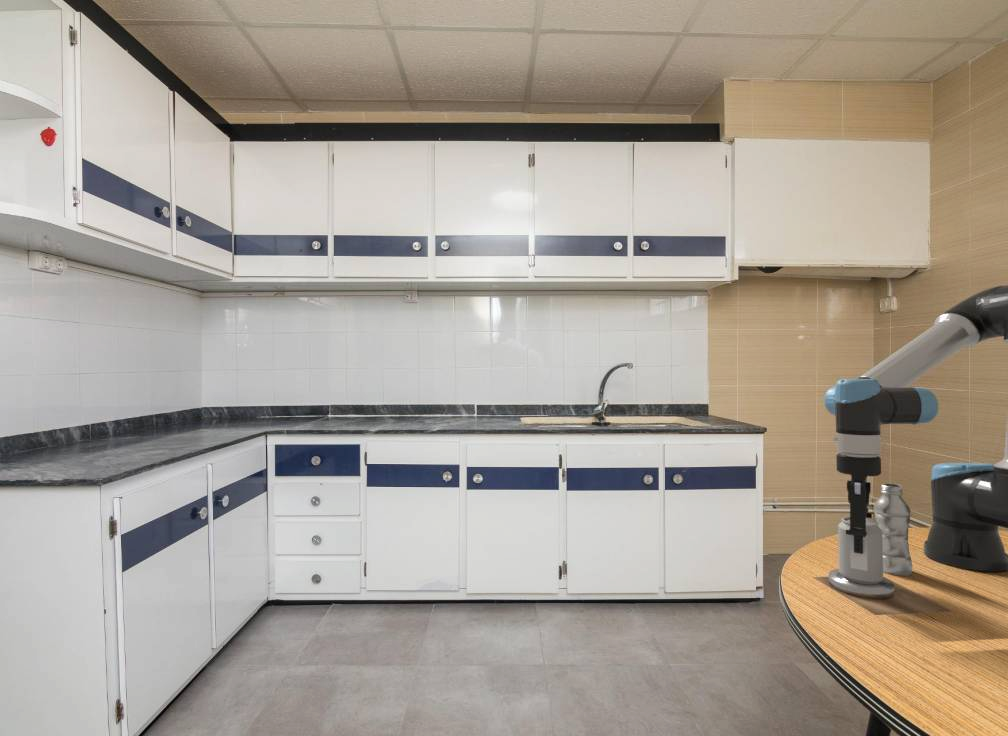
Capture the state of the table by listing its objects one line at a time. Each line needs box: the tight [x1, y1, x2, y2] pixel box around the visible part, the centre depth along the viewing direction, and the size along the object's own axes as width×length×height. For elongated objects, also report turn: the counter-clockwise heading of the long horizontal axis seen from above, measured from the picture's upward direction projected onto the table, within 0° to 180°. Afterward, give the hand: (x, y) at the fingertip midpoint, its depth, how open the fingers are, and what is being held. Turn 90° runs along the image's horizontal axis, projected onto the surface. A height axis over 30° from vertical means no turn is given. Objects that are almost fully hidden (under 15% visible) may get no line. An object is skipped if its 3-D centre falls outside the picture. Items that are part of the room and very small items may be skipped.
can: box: [837, 516, 884, 585], centre depth 105 cm, size 8×8×12 cm
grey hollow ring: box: [828, 568, 894, 600], centre depth 104 cm, size 11×11×2 cm
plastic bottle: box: [873, 483, 914, 577], centre depth 113 cm, size 6×7×20 cm
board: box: [812, 576, 953, 616], centre depth 102 cm, size 15×17×1 cm
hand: (860, 558), depth 104 cm, fingers open, 13 cm apart
